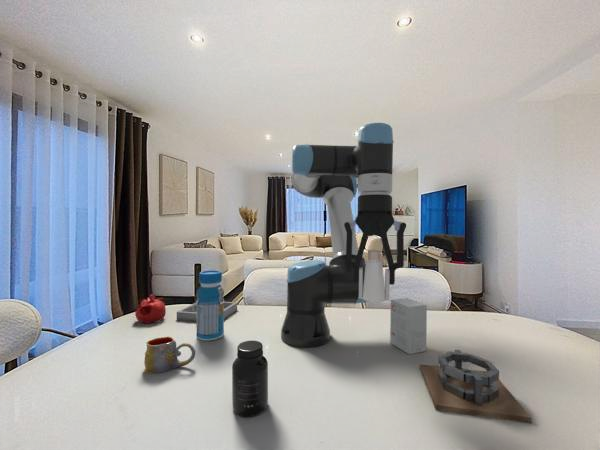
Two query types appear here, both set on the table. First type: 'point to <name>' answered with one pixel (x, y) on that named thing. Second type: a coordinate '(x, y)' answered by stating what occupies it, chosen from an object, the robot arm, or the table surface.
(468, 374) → the collar frame
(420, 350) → the small box
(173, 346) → the mug
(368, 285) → the pepper shaker
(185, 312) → the parts tray
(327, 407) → the table surface
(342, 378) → the table surface
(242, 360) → the supplement bottle
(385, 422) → the table surface
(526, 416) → the collar base
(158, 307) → the pomegranate
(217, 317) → the beverage bottle
